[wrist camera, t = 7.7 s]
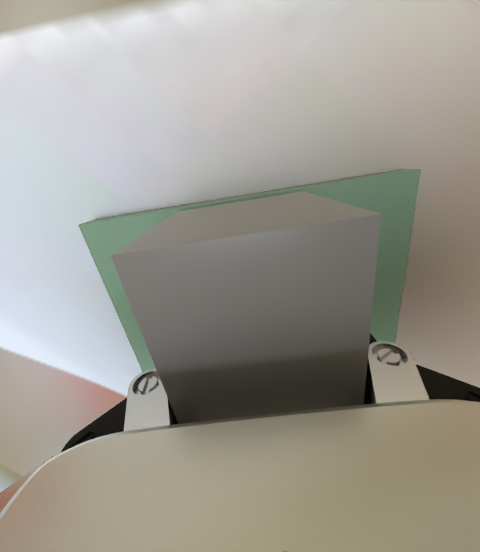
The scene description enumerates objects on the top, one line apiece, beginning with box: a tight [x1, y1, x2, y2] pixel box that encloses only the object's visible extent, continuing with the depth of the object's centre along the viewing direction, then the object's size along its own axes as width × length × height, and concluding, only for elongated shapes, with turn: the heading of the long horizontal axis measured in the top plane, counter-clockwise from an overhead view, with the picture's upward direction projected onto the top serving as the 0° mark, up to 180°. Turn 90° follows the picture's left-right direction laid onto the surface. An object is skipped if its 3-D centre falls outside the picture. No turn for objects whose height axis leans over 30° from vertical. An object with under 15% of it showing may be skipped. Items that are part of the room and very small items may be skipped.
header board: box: [79, 170, 420, 372], centre depth 12 cm, size 16×12×5 cm
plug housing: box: [110, 191, 381, 424], centre depth 10 cm, size 12×6×6 cm, turn 9°
